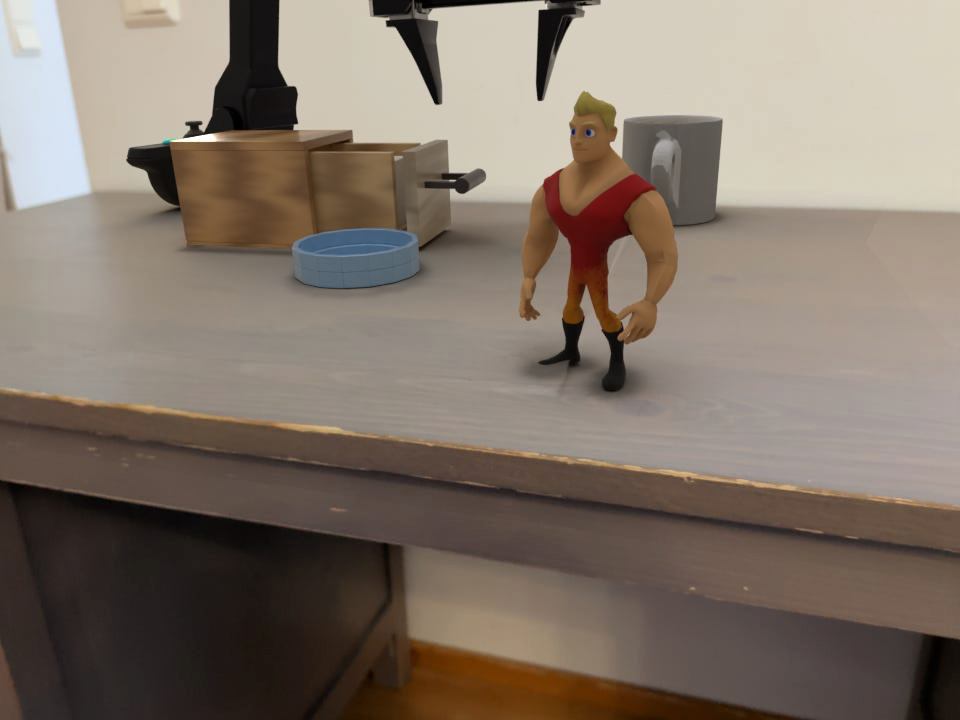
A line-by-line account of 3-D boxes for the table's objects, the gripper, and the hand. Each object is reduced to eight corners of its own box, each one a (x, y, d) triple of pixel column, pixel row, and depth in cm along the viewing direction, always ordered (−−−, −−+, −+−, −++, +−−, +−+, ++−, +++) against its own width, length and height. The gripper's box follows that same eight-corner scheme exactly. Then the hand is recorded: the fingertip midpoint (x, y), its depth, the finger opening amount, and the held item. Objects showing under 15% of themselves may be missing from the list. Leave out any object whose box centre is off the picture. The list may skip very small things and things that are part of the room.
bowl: (329, 259, 70) (326, 226, 69) (435, 264, 67) (433, 229, 66) (273, 291, 61) (269, 253, 60) (394, 297, 58) (391, 258, 57)
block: (357, 226, 73) (351, 161, 71) (373, 217, 77) (368, 155, 75) (397, 227, 72) (393, 161, 70) (411, 218, 76) (408, 155, 74)
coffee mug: (638, 204, 90) (642, 114, 86) (725, 211, 85) (733, 115, 82) (593, 227, 79) (595, 125, 76) (689, 235, 75) (697, 127, 71)
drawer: (492, 226, 77) (490, 139, 74) (465, 248, 68) (462, 151, 65) (336, 222, 81) (328, 139, 78) (293, 242, 73) (283, 151, 70)
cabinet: (361, 230, 81) (352, 129, 78) (315, 254, 72) (303, 141, 68) (245, 226, 85) (231, 130, 81) (187, 249, 75) (169, 141, 72)
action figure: (499, 364, 45) (494, 91, 40) (536, 347, 48) (536, 88, 42) (644, 406, 39) (661, 93, 34) (677, 384, 42) (699, 89, 36)
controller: (234, 200, 101) (222, 119, 97) (156, 217, 91) (139, 129, 87) (210, 198, 103) (198, 119, 99) (131, 215, 93) (114, 128, 89)
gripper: (609, -97, 67) (607, 94, 73) (406, -76, 72) (418, 101, 77) (591, -124, 57) (591, 100, 63) (357, -97, 62) (375, 108, 67)
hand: (488, 102), depth 68 cm, fingers open, 9 cm apart
